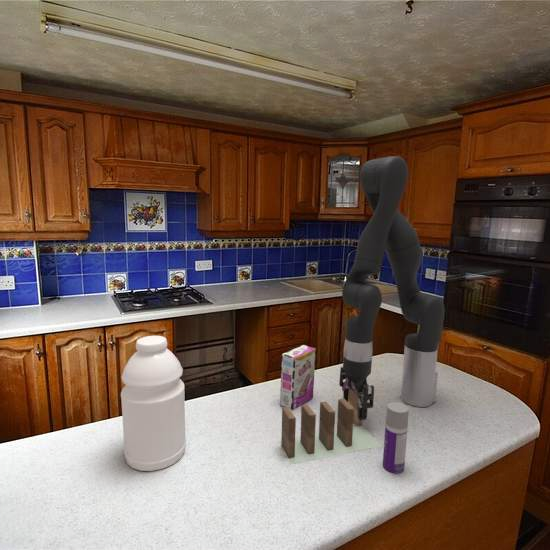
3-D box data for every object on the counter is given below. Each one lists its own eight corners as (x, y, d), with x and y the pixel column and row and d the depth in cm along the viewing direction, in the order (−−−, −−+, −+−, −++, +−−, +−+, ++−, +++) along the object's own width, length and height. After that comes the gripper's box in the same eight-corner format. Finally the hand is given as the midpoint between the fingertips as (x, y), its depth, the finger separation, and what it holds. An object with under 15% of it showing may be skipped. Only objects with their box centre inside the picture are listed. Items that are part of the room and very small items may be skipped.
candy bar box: (293, 412, 107) (294, 358, 105) (279, 406, 111) (280, 353, 108) (314, 398, 116) (316, 347, 113) (301, 392, 119) (302, 343, 116)
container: (378, 464, 86) (382, 403, 83) (394, 459, 87) (399, 400, 85) (391, 477, 81) (396, 414, 79) (408, 473, 83) (413, 410, 81)
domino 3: (324, 437, 95) (326, 401, 93) (333, 449, 90) (335, 411, 88) (318, 438, 94) (320, 402, 93) (327, 450, 90) (329, 412, 88)
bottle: (197, 442, 93) (195, 334, 88) (162, 479, 80) (158, 355, 75) (150, 430, 97) (146, 327, 93) (110, 463, 85) (103, 345, 80)
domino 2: (306, 441, 93) (307, 404, 92) (314, 453, 89) (315, 414, 87) (300, 442, 93) (301, 404, 91) (308, 454, 88) (309, 415, 86)
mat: (362, 427, 100) (362, 425, 100) (381, 447, 92) (381, 445, 92) (277, 442, 93) (278, 441, 93) (290, 465, 85) (290, 464, 85)
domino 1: (287, 444, 92) (288, 406, 90) (294, 457, 87) (295, 417, 85) (281, 445, 91) (282, 407, 90) (288, 458, 87) (289, 418, 85)
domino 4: (342, 434, 96) (344, 398, 95) (351, 446, 92) (353, 408, 90) (336, 435, 96) (338, 399, 94) (346, 447, 91) (348, 409, 90)
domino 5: (352, 415, 106) (354, 382, 105) (361, 425, 102) (363, 390, 100) (347, 416, 106) (349, 383, 104) (356, 426, 101) (358, 391, 99)
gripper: (385, 364, 95) (380, 423, 98) (356, 345, 108) (353, 397, 111) (359, 367, 93) (355, 427, 95) (333, 347, 106) (330, 400, 109)
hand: (354, 411), depth 103 cm, fingers open, 8 cm apart
